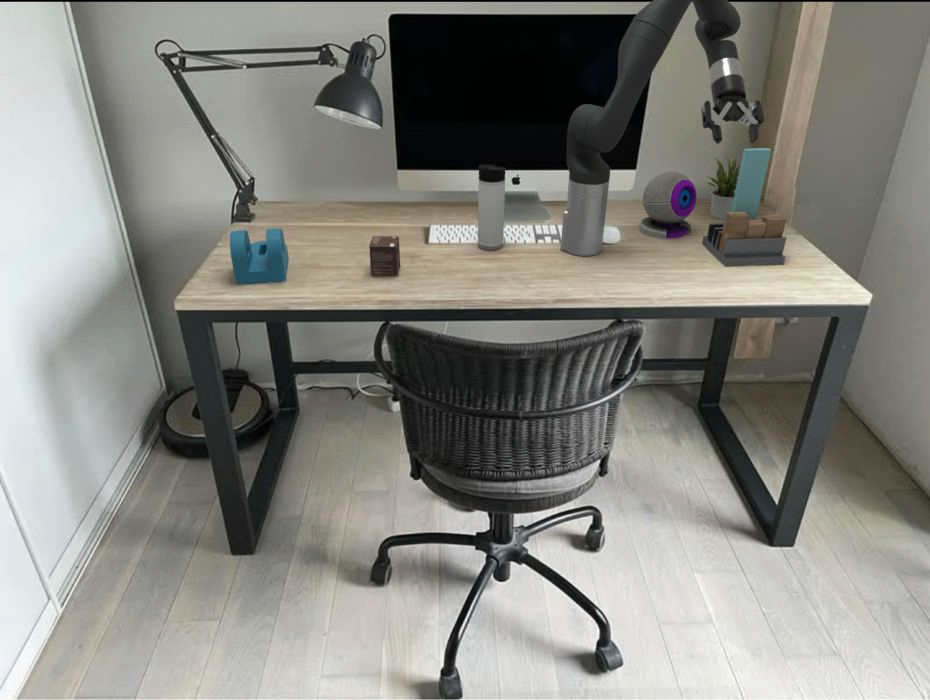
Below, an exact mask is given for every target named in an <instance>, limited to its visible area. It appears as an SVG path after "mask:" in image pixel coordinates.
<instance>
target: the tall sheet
mask: <svg viewBox="0 0 930 700" xmlns="http://www.w3.org/2000/svg"><path fill="white" fill-rule="evenodd" d="M742 152H743V153H742V156H741V162H740V165H741V166H740V167H739V169H740V171H739V175H738V176H737V178H738V180H737V184H736V189H735V190H734V192H735V195H734V200H733V205H732V209H731V212H745V213H746V214H747V215H749V216H750V217H749V220H757V215H758V209H759V205H760V203H761V197H762V193H763V189H764V183H765V179H766V175H767V171H768V167H769V163H770V158H771V154H772V149H771V148H767V147H764V148H763V147H762V148H760V147H759V148H757V147H756V148H744V149H743V151H742Z"/></svg>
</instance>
